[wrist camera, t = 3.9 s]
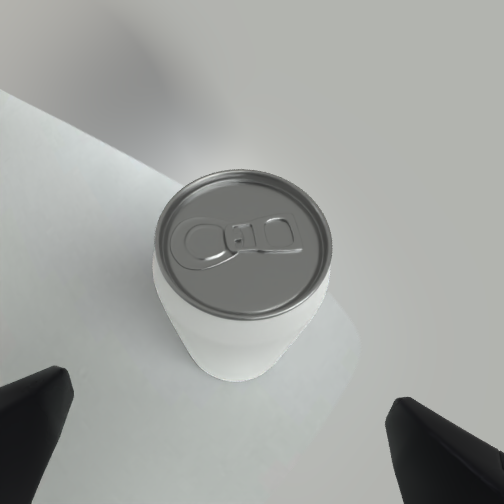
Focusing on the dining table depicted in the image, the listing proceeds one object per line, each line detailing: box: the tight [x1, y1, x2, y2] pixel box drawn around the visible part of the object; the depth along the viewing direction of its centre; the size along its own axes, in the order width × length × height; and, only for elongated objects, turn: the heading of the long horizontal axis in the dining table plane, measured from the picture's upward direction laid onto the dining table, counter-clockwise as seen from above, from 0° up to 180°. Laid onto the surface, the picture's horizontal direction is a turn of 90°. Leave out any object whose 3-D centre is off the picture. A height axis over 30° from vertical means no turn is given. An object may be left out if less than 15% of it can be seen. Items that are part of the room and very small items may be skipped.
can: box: [152, 169, 332, 382], centre depth 15 cm, size 6×6×12 cm
